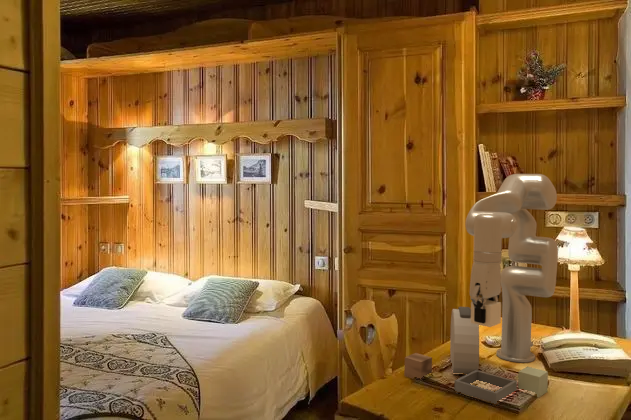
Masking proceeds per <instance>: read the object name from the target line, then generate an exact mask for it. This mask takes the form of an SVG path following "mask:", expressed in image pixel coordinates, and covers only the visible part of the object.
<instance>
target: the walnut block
mask: <svg viewBox="0 0 631 420" xmlns="http://www.w3.org/2000/svg"><path fill="white" fill-rule="evenodd" d="M429 373H433V357H431V356H428V355H424V354H421V353H418V352H415V353H412V354H409V355H407V356H404V377H406V378H410V379H413V378H414V377H417V378H420V379H421V378H422V377H423V376H424V375H427V374H429ZM413 380H414V379H413Z"/></svg>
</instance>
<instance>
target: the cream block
mask: <svg viewBox="0 0 631 420" xmlns="http://www.w3.org/2000/svg"><path fill="white" fill-rule="evenodd" d="M479 301H480V302H481V303H482V300H479ZM470 309H471V323H474V324H478V325H479V326H483V327H488V328H491V327H492V328H493V327H494V326H497V325H499V324H502V313H501V312H502V302H501V301H498V302H496V301H491V300H487V299H486V303H485V307H484V309H486V321H485V323H479V322H475V321H474V304H473V302H472V301H471V302H470Z"/></svg>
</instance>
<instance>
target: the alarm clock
mask: <svg viewBox="0 0 631 420" xmlns="http://www.w3.org/2000/svg"><path fill="white" fill-rule="evenodd" d="M450 317H451V318H450V341H449V342H450V349H449V350H450V364H451V363H452V366H451V371H452V370H453V373H464V374H469V373H471V372H473V371H475V370H479V366H480V365H479V364H480V325H478V324H474V323H471V307H469V306H458V307H457V308H452V310H451V316H450ZM453 373H452V374H453Z"/></svg>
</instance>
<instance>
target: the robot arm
mask: <svg viewBox="0 0 631 420" xmlns="http://www.w3.org/2000/svg"><path fill="white" fill-rule="evenodd" d="M557 199H558V195H557V190H556V187H555V186H554V184H553V182H552V181H551V180H550V178H549V177H548V176H546V175H545V174H542V173H513V174H510V175H507V176H506V178H505V179H504V180H503V181H502V183H501V185H500V187H499V189H498V190H497V191H496V193H494V194H491V195H489V196H486V197H484V198H482V199H480V200H478V201H477V202H475V203H474V204H473V205H472V206H471V208H470V210H469V212H468V213H467V216H466V218H465V230H466V232H467V233H468V234H469V235H471V236H473V257H472V258H473V259H472V261H473V263H472V265H471V266H472V267H471V272H470V283H469V296H470V300H471V302H473V304H474V321H475V322H479V323H485V321H486V309H484V307H485V303H486V300H491V301H496V302H499V298H500V295H501V297H502V306H501V312H502V313H501V341H500V343H501V344H500V345H501V346H500V348H499V349H496V354H495V355H496V356H497V357H498V358H500V359H502V360H505V361H509V362H513V363H531V362H533V361H535V360H536V355H535V354H534V353H533V352H531V349H532V348H531V347H534V343H533V341H532V321H533V320H532V319H533V317H532V316H533V315H532V313H533V311H532V310H533V309H532V305H531V303H530V301H529V300H528V298H527V297H526V296H532V297H537V298H538V297H540V298H550V297H552V296H553V295H554V293H555V290H556V286H557V285H556V284H557V273H558V260H559V258H558V257H559V247H558V242H557V241H556V240H555V239H554V238H552V237H545V236H537V225H538V224H537V221H536V219H535V217H534V216H533V215H532V214H531V212H530V211H529V210H543V211H545V210H546V211H547V210H551V209H554V207H555V205H556V203H557ZM503 239H508V247H507V255H508V258H509V260H511V261H512V262H515V263H519V264H531V265H538V266H541V268H540V267H530V266H523V265H522V266H519V265H510V266H506V267H504V268H503V269H502V270H501V268H502V267H501V264H502V246H503V245H502V242H503ZM479 300H482V303H481V302H480V301H479Z"/></svg>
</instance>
